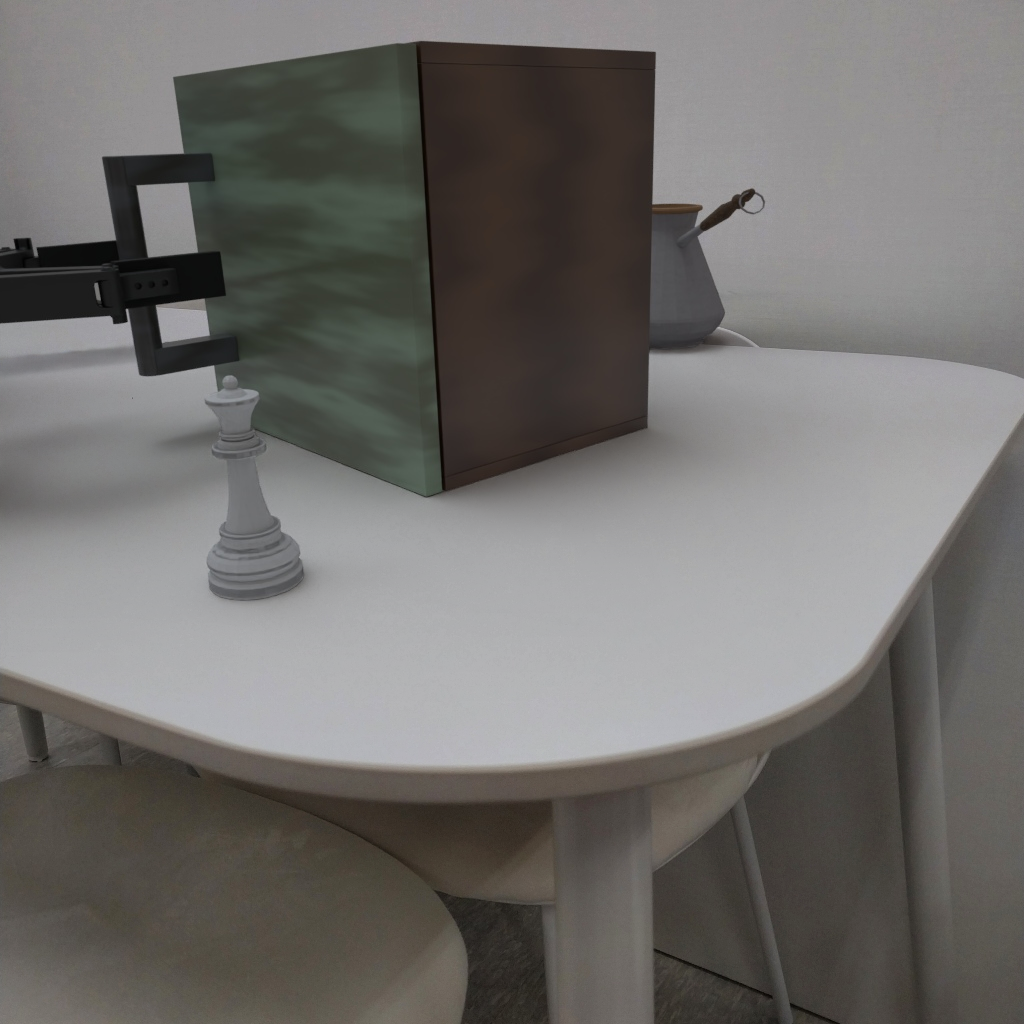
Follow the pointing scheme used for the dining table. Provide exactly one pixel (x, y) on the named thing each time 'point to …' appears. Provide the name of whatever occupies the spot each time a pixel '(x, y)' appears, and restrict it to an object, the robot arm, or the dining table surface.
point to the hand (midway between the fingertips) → (175, 265)
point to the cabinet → (536, 248)
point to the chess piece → (247, 510)
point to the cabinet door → (306, 252)
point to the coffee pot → (685, 274)
